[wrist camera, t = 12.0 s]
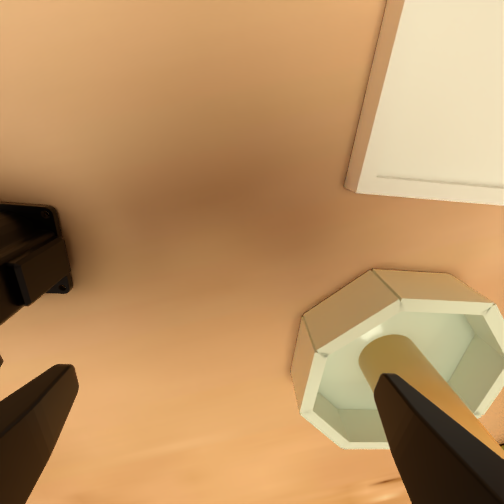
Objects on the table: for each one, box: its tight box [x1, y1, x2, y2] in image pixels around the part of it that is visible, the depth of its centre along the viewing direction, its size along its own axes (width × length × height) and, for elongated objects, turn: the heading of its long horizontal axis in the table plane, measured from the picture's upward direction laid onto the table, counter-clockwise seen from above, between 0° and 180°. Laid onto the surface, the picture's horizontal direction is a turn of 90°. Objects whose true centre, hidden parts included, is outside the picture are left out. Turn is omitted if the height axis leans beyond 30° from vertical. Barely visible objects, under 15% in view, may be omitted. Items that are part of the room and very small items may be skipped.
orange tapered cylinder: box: [359, 334, 504, 459], centre depth 18 cm, size 5×5×12 cm
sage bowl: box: [290, 269, 504, 449], centre depth 22 cm, size 16×16×4 cm
